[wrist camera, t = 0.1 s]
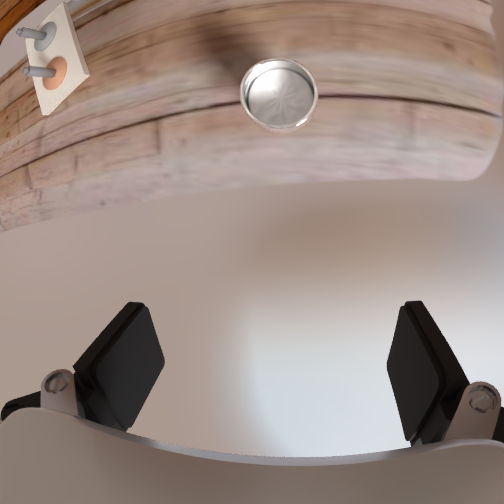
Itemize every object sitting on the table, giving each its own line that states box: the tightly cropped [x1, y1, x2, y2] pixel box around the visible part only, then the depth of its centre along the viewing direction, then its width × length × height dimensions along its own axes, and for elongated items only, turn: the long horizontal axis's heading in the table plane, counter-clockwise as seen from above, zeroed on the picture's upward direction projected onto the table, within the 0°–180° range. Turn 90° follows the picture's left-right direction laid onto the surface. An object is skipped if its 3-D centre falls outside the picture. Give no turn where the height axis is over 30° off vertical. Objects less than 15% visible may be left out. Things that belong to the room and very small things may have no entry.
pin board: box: [16, 2, 90, 115], centre depth 29 cm, size 22×12×10 cm, turn 24°
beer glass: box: [240, 57, 318, 133], centre depth 28 cm, size 7×7×15 cm
